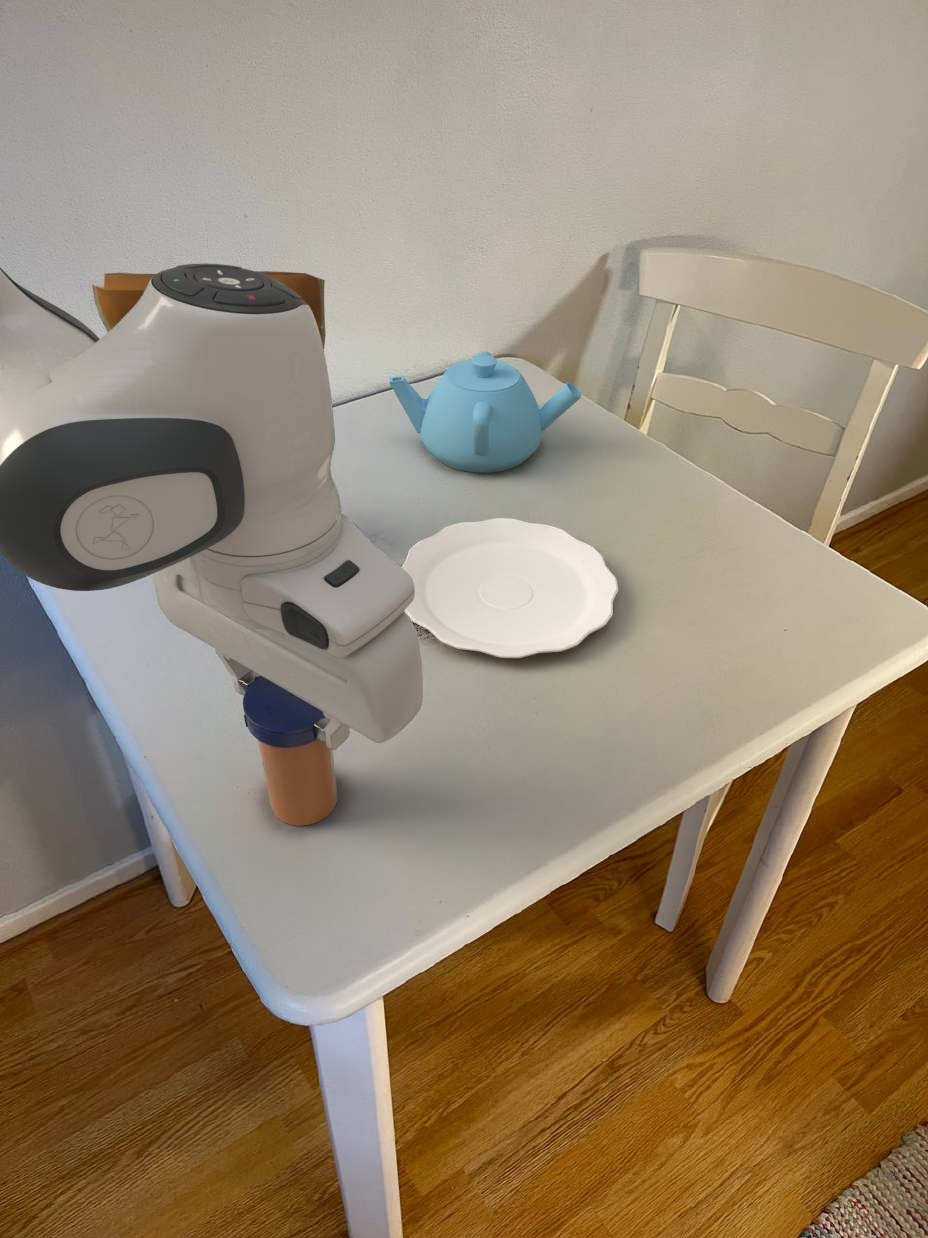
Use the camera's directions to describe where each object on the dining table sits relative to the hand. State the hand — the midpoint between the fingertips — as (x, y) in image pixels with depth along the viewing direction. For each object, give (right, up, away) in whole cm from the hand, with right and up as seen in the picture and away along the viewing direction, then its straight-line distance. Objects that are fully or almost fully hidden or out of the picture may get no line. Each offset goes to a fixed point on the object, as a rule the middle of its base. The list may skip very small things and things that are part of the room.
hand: (292, 715), depth 61 cm
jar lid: (0, +1, -1) cm, 1 cm away
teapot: (+14, +27, +46) cm, 55 cm away
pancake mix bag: (-10, +15, +31) cm, 36 cm away
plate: (+16, +9, +25) cm, 31 cm away
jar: (0, -7, +6) cm, 9 cm away
